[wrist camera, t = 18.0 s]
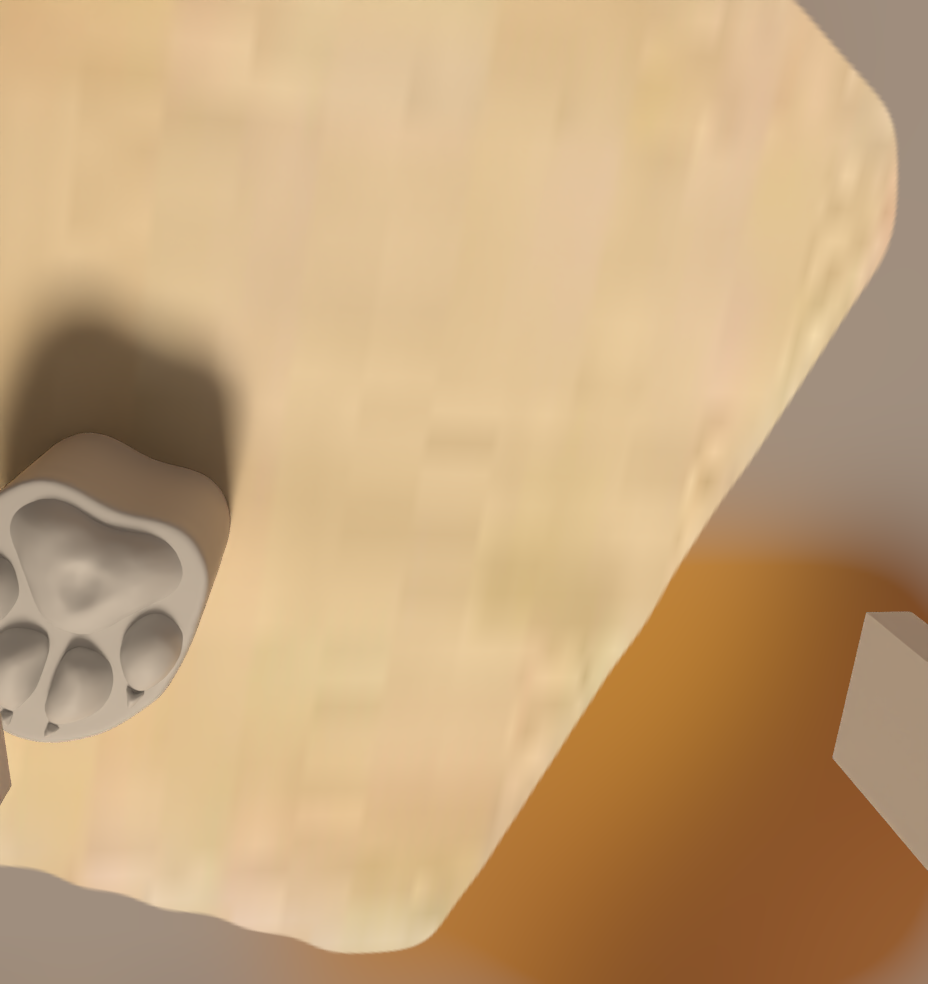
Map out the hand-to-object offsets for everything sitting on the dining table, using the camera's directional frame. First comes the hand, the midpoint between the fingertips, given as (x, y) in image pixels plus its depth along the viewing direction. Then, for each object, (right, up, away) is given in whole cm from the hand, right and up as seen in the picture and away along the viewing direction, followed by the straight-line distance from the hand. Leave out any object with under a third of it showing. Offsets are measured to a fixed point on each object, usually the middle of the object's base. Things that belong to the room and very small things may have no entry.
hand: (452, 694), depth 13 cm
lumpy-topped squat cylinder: (-18, -1, +32) cm, 37 cm away
